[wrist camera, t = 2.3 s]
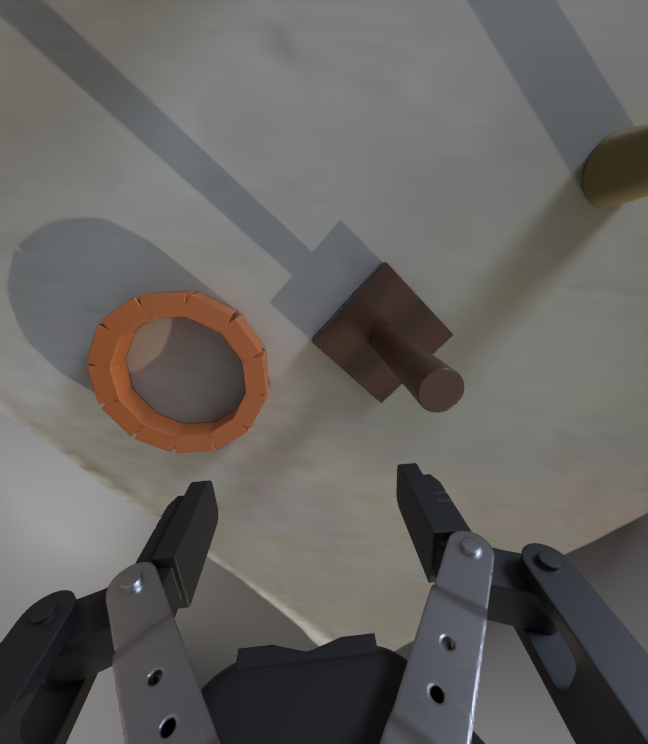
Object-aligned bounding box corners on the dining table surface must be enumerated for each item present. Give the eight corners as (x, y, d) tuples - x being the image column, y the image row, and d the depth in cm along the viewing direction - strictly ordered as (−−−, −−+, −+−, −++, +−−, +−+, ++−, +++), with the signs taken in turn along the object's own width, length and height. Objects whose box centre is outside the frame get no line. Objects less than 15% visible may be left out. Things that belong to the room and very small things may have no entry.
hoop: (88, 403, 31) (70, 415, 29) (133, 259, 27) (116, 258, 24) (233, 458, 35) (227, 473, 32) (293, 338, 30) (293, 344, 28)
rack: (311, 338, 31) (319, 399, 17) (382, 262, 28) (455, 261, 15) (378, 397, 33) (430, 489, 20) (446, 331, 31) (558, 384, 18)
